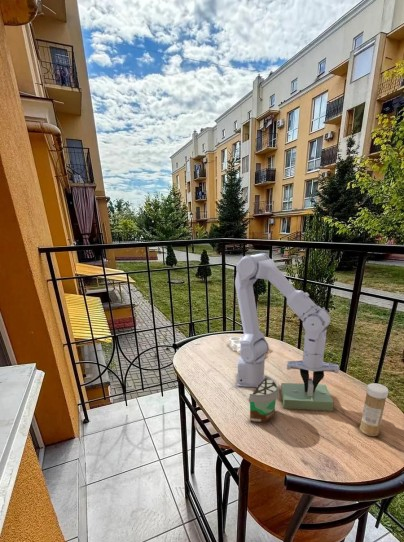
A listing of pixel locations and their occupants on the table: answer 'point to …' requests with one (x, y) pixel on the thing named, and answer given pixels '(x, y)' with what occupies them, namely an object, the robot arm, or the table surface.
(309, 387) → the tap handle
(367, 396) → the sprinkles bottle
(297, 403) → the plate
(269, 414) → the food container
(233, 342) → the cream bumpy slab
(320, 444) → the table surface
